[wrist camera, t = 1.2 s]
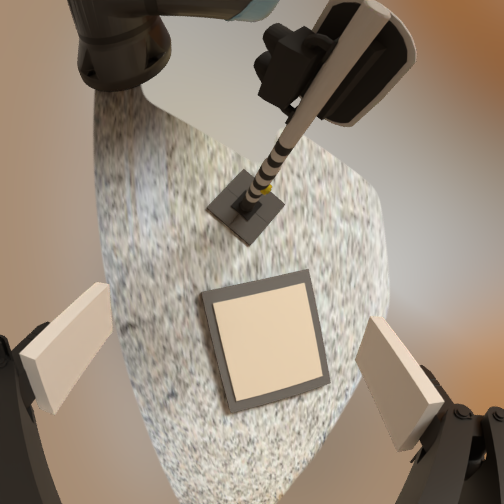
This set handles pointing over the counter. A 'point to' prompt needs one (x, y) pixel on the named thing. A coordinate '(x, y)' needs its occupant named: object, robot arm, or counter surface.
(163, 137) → the counter surface
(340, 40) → the miniature traffic light
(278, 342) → the plate
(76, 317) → the robot arm
